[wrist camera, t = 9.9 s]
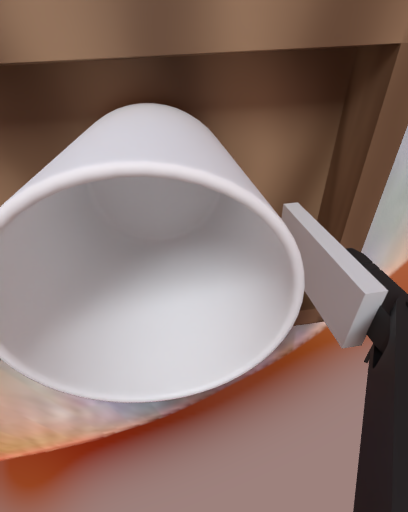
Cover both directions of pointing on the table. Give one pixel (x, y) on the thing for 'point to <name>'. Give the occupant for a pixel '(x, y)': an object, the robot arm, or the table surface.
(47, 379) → the mug
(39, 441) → the table surface
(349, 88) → the tray
